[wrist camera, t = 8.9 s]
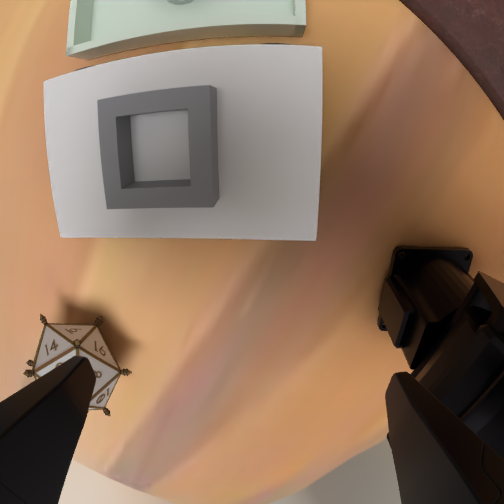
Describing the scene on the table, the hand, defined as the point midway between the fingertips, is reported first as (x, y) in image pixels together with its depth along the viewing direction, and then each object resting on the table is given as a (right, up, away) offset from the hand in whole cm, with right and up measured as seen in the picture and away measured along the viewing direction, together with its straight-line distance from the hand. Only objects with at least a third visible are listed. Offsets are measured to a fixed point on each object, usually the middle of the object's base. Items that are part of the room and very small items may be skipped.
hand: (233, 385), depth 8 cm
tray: (-3, +19, +5) cm, 20 cm away
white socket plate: (-3, +10, +9) cm, 14 cm away
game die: (-13, -4, +16) cm, 21 cm away
